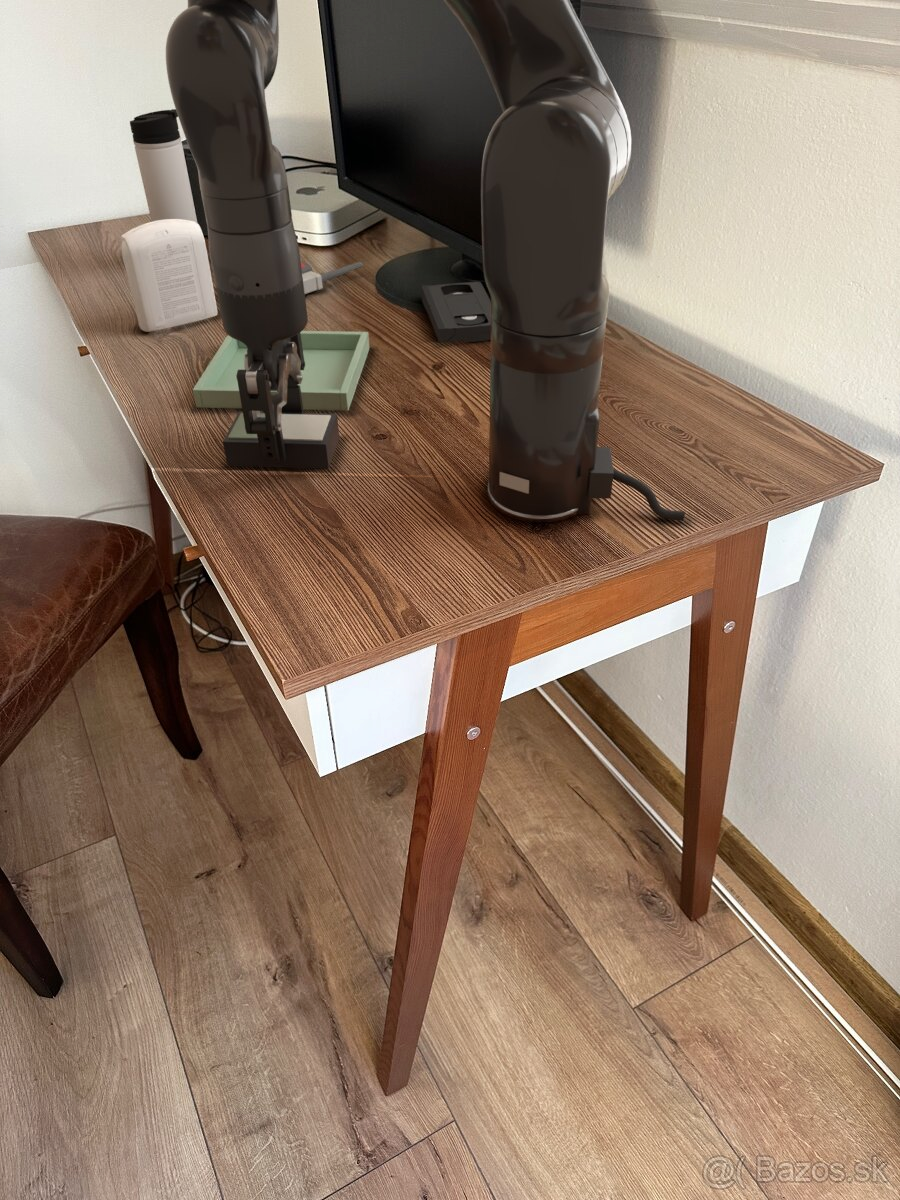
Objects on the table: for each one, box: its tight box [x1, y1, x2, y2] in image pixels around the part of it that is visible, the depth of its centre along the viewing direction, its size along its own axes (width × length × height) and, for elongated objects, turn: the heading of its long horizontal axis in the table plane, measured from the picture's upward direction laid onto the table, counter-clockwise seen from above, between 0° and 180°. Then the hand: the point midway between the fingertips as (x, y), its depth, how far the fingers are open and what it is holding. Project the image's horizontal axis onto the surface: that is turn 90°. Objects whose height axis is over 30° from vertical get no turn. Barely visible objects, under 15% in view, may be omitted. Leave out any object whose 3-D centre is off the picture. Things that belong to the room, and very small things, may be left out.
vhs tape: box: [421, 281, 491, 343], centre depth 112 cm, size 14×8×2 cm, turn 10°
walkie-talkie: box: [300, 259, 364, 295], centre depth 121 cm, size 9×4×20 cm
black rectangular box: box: [222, 411, 340, 469], centre depth 87 cm, size 10×6×3 cm, turn 85°
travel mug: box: [129, 108, 199, 224], centre depth 124 cm, size 6×7×20 cm
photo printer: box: [120, 219, 219, 333], centre depth 110 cm, size 10×4×12 cm, turn 123°
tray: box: [192, 330, 370, 411], centre depth 100 cm, size 17×16×2 cm
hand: (284, 440), depth 87 cm, fingers open, 8 cm apart
